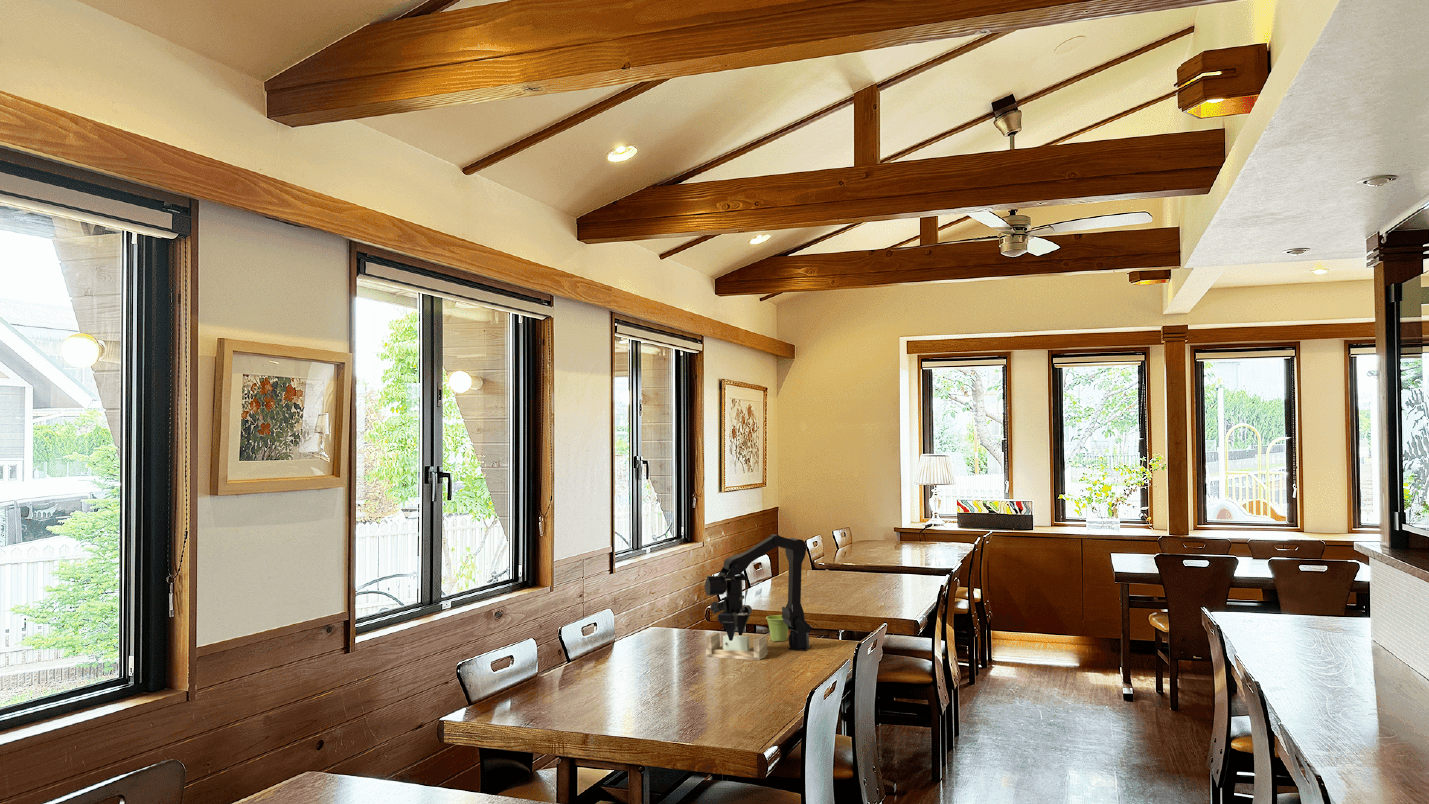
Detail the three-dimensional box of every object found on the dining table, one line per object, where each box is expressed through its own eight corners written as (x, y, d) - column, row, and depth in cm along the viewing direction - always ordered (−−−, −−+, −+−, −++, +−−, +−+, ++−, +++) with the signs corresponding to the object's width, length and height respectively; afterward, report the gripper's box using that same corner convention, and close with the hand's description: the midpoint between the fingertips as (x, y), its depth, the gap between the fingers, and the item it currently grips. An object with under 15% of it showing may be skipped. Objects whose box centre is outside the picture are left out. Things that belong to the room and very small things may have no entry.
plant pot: (779, 636, 350) (778, 614, 350) (796, 640, 343) (795, 616, 343) (761, 640, 344) (760, 617, 344) (778, 643, 336) (778, 620, 337)
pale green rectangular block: (749, 653, 318) (749, 636, 319) (746, 655, 315) (745, 638, 316) (726, 652, 322) (725, 635, 322) (722, 654, 319) (722, 636, 319)
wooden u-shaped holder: (767, 655, 319) (766, 635, 319) (759, 660, 311) (758, 639, 312) (715, 651, 326) (714, 632, 327) (706, 656, 319) (705, 636, 319)
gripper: (723, 588, 332) (724, 631, 331) (703, 596, 314) (704, 642, 313) (751, 589, 327) (752, 633, 326) (732, 597, 310) (734, 643, 309)
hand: (735, 637), depth 319 cm, fingers open, 9 cm apart
